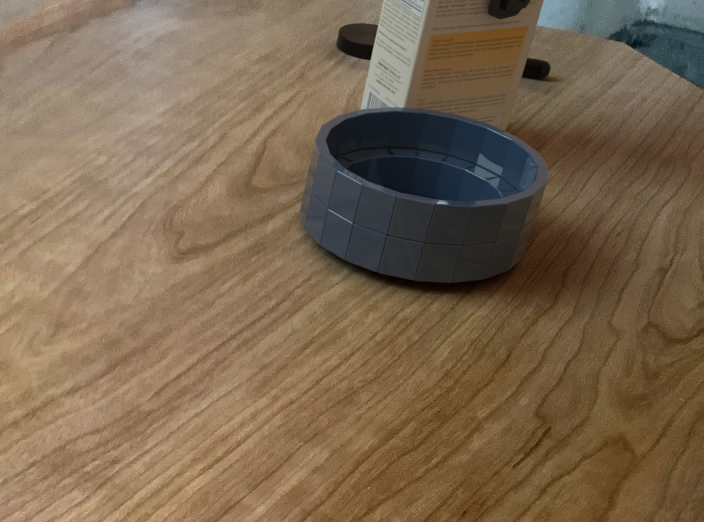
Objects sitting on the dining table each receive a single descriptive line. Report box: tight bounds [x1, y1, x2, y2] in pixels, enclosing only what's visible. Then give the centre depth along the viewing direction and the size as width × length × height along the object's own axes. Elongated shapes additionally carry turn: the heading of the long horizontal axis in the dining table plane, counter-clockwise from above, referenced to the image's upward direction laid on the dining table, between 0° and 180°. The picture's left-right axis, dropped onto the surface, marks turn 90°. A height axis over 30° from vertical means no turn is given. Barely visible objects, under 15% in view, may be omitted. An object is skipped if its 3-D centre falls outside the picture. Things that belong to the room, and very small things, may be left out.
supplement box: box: [359, 0, 545, 132], centre depth 84 cm, size 8×5×13 cm, turn 108°
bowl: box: [299, 107, 550, 284], centre depth 76 cm, size 12×12×5 cm
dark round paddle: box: [335, 22, 552, 79], centre depth 99 cm, size 15×4×1 cm, turn 69°
